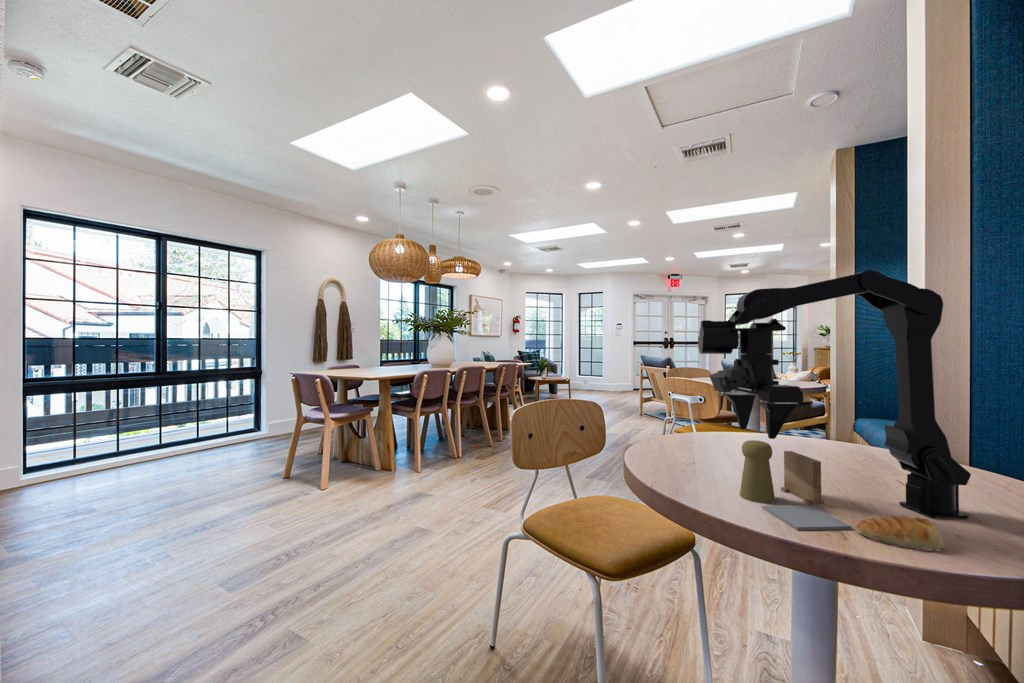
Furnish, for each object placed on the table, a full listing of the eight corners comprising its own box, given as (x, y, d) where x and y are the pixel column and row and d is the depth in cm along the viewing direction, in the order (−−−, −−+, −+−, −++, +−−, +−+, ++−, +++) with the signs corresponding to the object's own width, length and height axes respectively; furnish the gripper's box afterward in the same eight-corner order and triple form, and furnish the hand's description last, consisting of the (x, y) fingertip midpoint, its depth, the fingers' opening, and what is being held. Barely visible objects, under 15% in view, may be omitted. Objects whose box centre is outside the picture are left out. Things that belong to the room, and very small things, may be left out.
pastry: (871, 547, 62) (870, 521, 62) (848, 528, 69) (847, 505, 69) (949, 555, 60) (948, 528, 60) (917, 535, 66) (917, 510, 66)
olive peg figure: (773, 505, 78) (773, 446, 78) (737, 498, 81) (736, 442, 81) (776, 496, 82) (776, 440, 83) (742, 490, 86) (741, 436, 86)
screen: (795, 489, 86) (795, 450, 86) (825, 504, 78) (825, 461, 78) (780, 489, 86) (780, 451, 86) (809, 504, 78) (808, 461, 78)
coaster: (810, 507, 77) (810, 505, 77) (851, 529, 68) (851, 526, 68) (762, 508, 76) (762, 505, 76) (797, 530, 67) (797, 527, 67)
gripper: (694, 353, 91) (694, 424, 91) (743, 355, 73) (743, 445, 73) (744, 353, 92) (744, 424, 92) (806, 355, 73) (806, 444, 73)
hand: (756, 433), depth 82 cm, fingers open, 9 cm apart
